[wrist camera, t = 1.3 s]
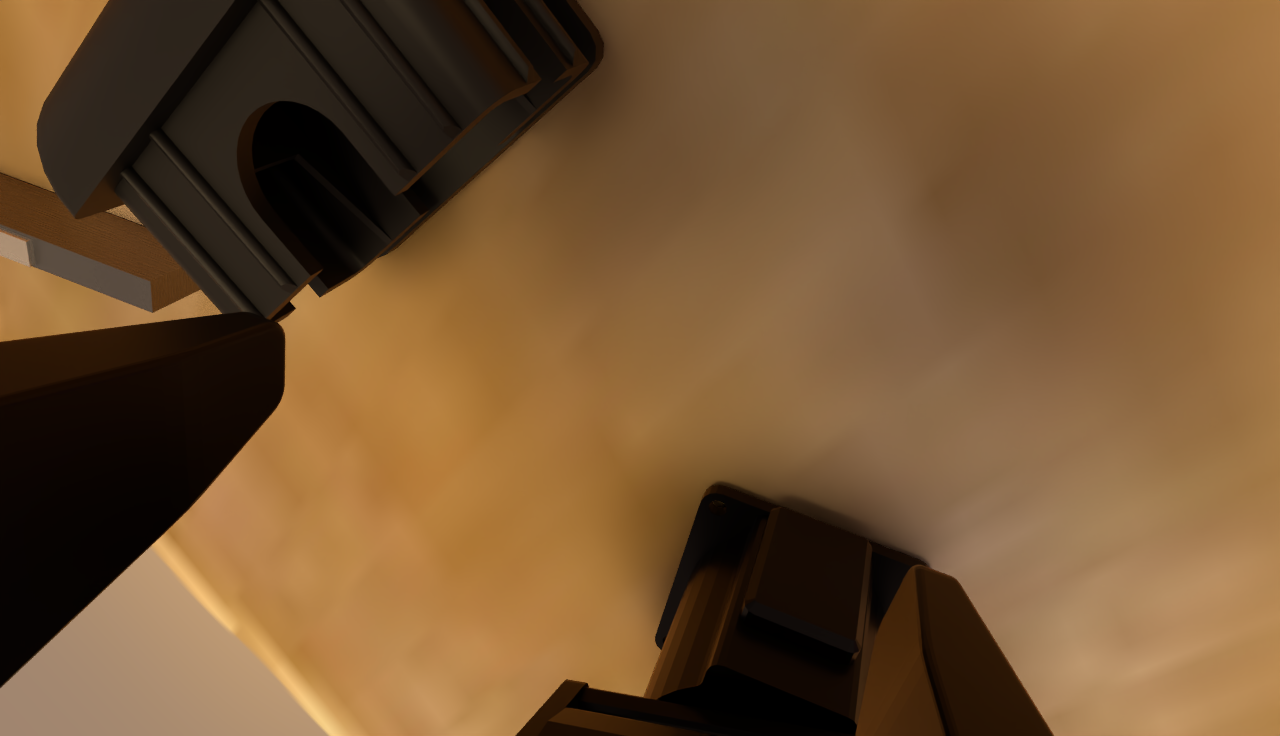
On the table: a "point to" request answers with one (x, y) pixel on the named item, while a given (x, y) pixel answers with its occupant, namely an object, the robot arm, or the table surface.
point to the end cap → (299, 125)
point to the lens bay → (88, 248)
